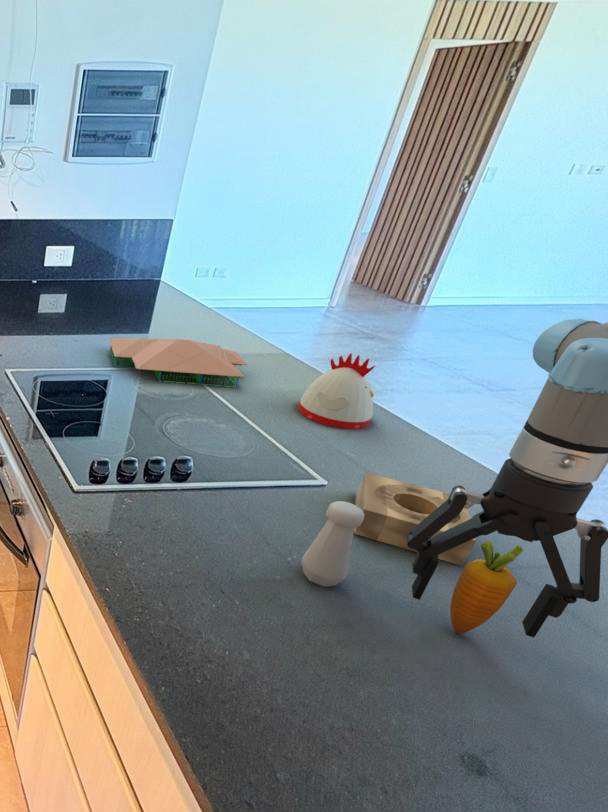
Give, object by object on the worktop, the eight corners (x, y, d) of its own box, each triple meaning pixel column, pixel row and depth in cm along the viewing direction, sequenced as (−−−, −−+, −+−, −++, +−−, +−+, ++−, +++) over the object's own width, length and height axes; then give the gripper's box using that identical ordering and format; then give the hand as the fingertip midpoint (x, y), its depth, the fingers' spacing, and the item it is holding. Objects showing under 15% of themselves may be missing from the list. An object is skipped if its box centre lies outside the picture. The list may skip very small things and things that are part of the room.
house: (252, 389, 155) (261, 359, 152) (116, 378, 161) (121, 349, 158) (227, 357, 175) (234, 330, 172) (106, 348, 181) (111, 322, 178)
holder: (453, 522, 106) (465, 497, 104) (462, 566, 96) (476, 540, 93) (355, 495, 113) (365, 472, 111) (353, 533, 103) (364, 509, 101)
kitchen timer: (357, 434, 134) (382, 371, 127) (288, 413, 144) (308, 352, 137) (377, 416, 142) (401, 356, 135) (311, 397, 151) (330, 339, 145)
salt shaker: (341, 573, 94) (371, 503, 88) (344, 596, 90) (375, 523, 84) (297, 560, 97) (323, 491, 91) (297, 582, 92) (325, 510, 87)
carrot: (431, 632, 84) (479, 544, 77) (436, 613, 87) (483, 527, 80) (479, 653, 80) (533, 563, 74) (483, 632, 83) (535, 544, 77)
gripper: (426, 453, 75) (363, 591, 85) (712, 520, 63) (600, 671, 73) (422, 430, 81) (364, 561, 90) (685, 487, 69) (584, 631, 78)
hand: (469, 610), depth 82 cm, fingers open, 11 cm apart
